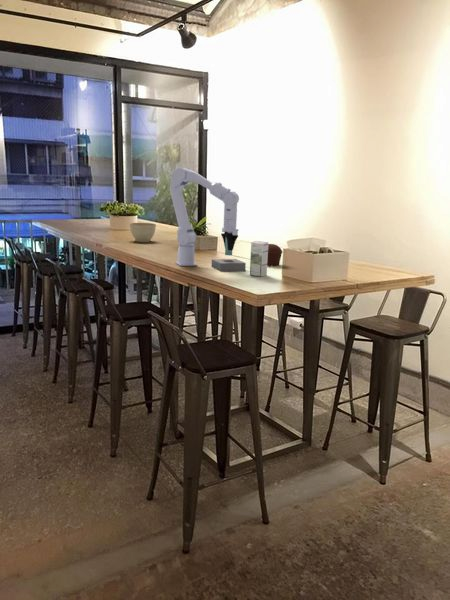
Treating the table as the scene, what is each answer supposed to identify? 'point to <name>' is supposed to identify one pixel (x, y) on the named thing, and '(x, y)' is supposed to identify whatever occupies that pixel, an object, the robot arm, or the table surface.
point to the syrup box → (258, 258)
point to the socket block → (228, 265)
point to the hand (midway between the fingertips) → (228, 249)
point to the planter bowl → (142, 231)
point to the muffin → (273, 255)
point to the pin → (227, 252)
